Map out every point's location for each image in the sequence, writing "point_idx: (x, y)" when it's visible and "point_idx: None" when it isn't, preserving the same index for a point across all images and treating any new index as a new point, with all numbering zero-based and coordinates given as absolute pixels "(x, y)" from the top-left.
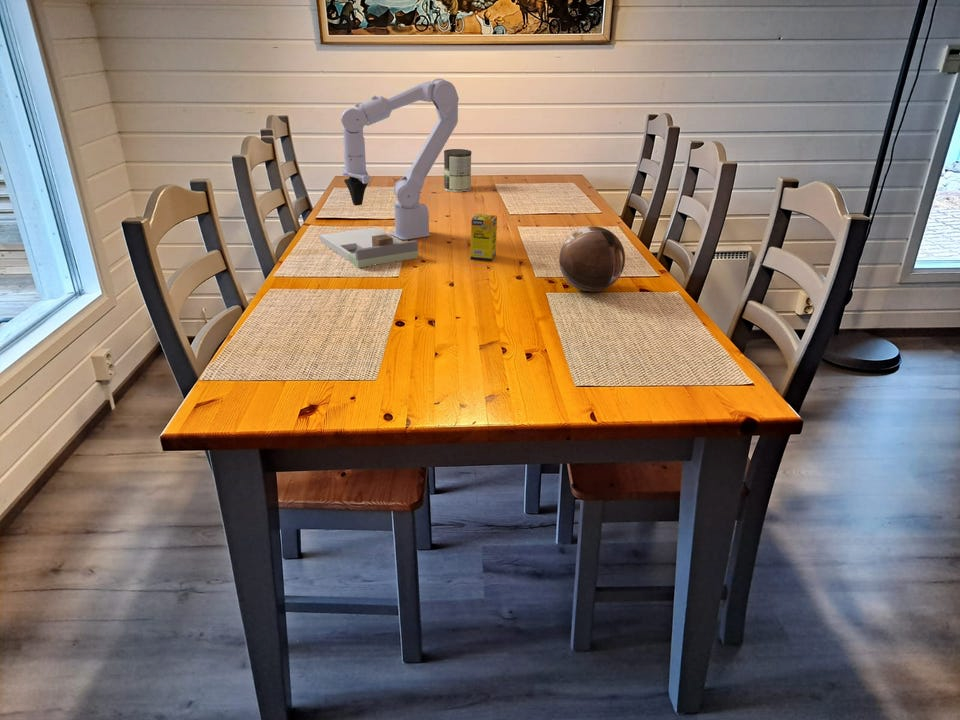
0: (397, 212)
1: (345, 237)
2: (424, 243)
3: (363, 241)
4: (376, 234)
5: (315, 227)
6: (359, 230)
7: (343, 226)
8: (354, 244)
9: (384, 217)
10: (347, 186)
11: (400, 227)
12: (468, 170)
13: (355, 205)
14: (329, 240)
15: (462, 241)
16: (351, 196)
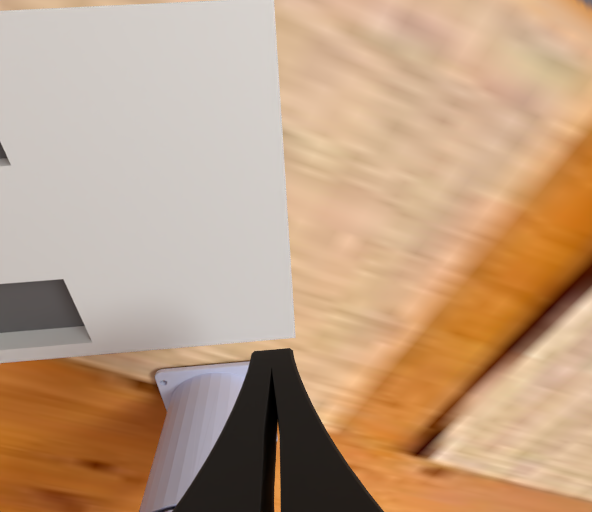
0: (179, 475)
1: (155, 151)
2: (102, 413)
3: (44, 218)
4: (170, 309)
5: (580, 95)
6: (273, 264)
7: (488, 237)
8: (12, 156)
9: (490, 399)
10: (352, 486)
11: (180, 412)
12: None
13: (254, 353)
14: (106, 18)
15: (100, 490)
16: (290, 398)
